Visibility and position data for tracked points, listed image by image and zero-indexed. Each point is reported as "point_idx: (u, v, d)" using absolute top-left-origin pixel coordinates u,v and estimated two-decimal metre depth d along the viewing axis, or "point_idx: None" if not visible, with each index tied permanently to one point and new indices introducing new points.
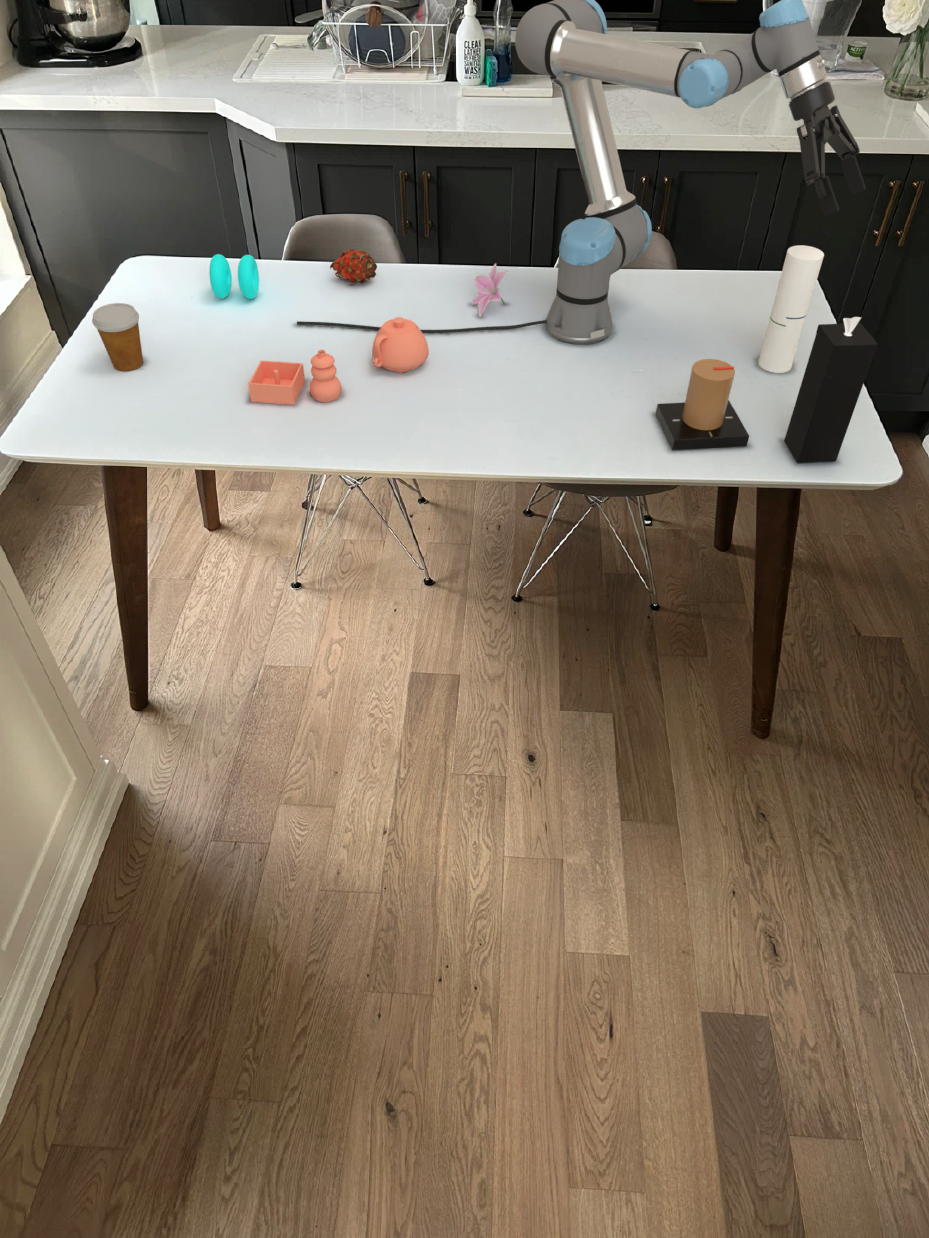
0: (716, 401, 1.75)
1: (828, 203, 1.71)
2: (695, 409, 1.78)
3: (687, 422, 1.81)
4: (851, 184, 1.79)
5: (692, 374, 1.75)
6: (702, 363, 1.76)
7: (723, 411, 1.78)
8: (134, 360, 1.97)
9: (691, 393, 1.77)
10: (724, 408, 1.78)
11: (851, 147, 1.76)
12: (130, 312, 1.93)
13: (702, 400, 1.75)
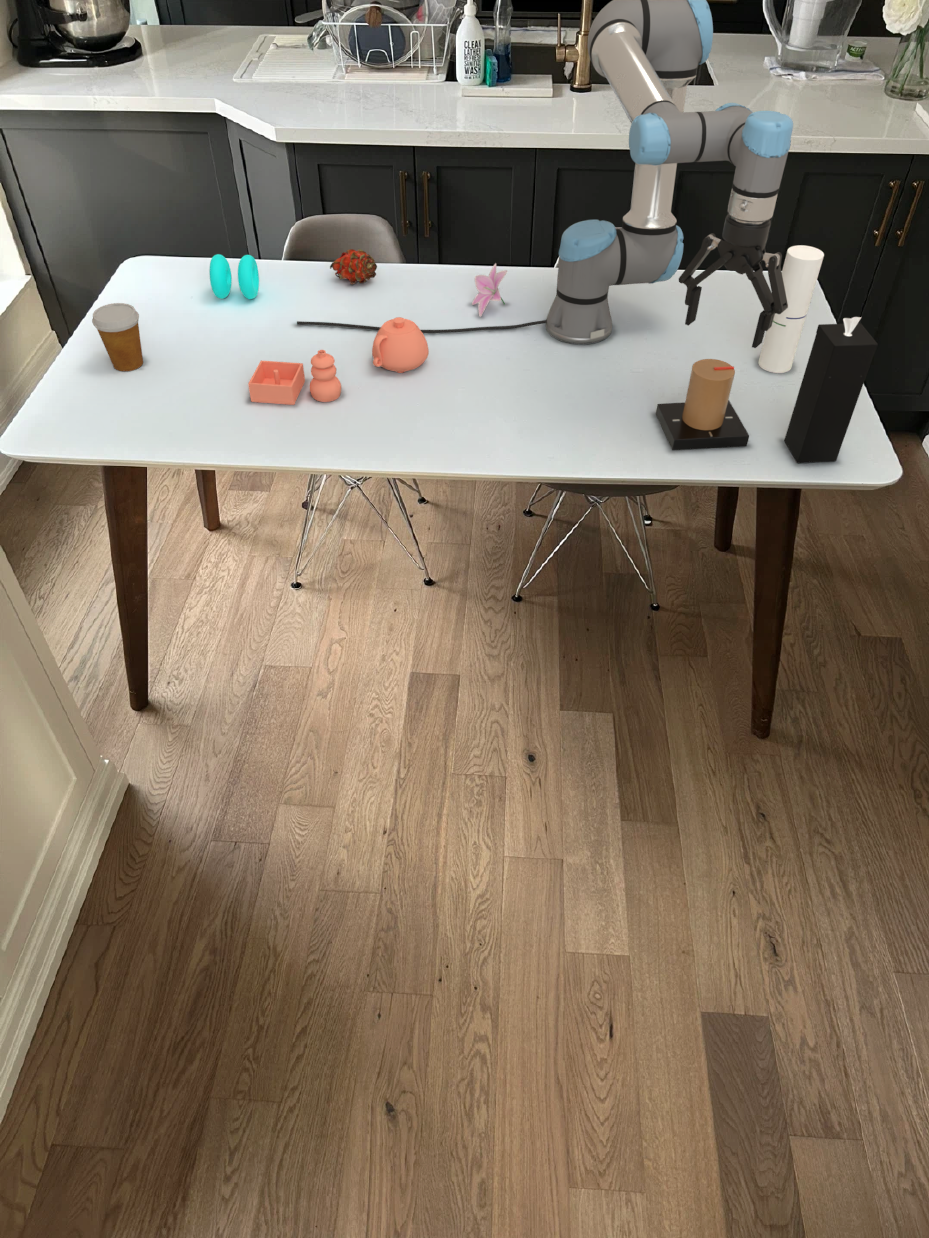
0: (716, 401, 1.75)
1: None
2: (695, 409, 1.78)
3: (687, 422, 1.81)
4: None
5: (692, 374, 1.75)
6: (702, 363, 1.76)
7: (723, 411, 1.78)
8: (134, 360, 1.97)
9: (691, 393, 1.77)
10: (724, 408, 1.78)
11: (766, 304, 1.60)
12: (130, 312, 1.93)
13: (702, 400, 1.75)
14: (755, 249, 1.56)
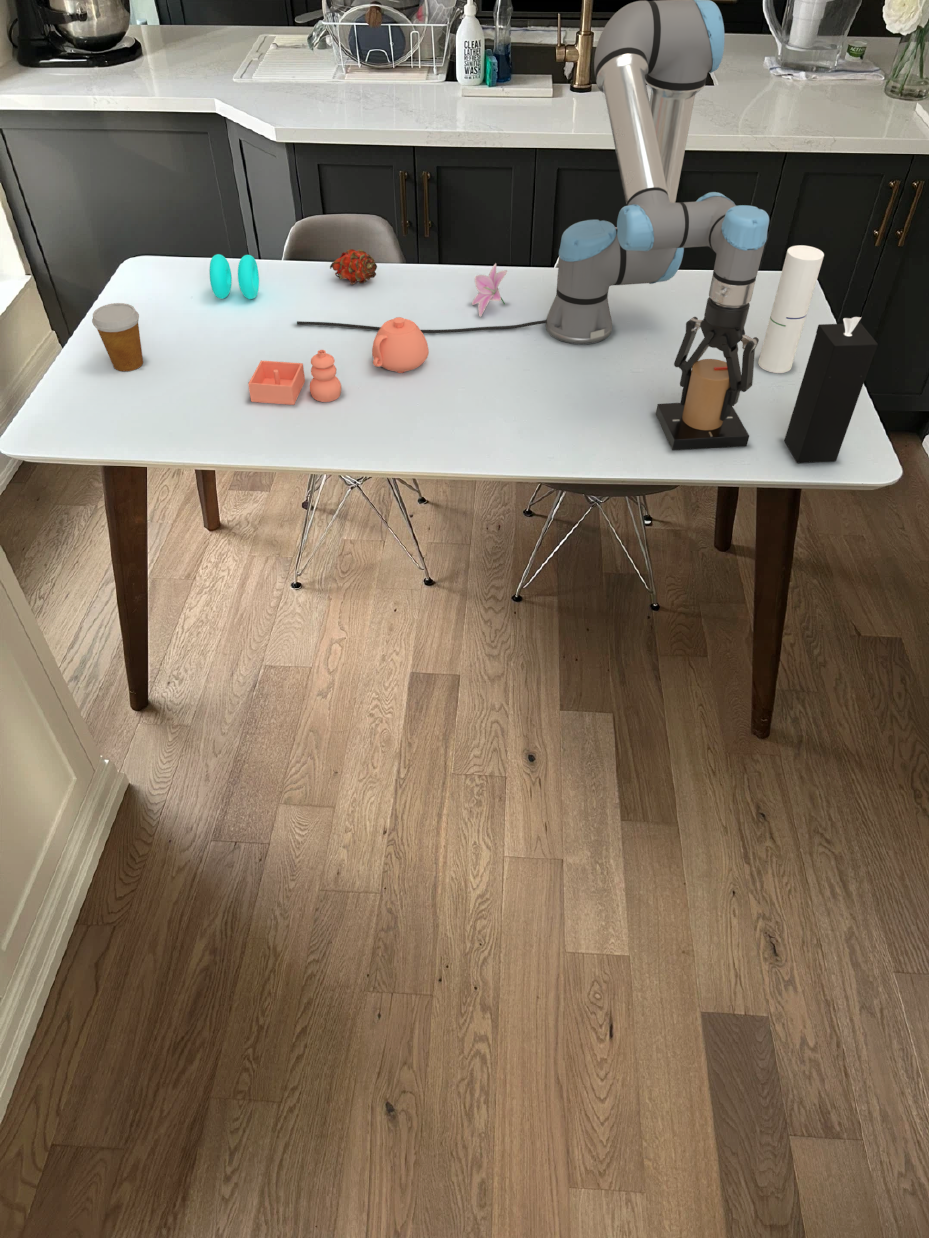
0: (716, 401, 1.75)
1: None
2: (695, 409, 1.78)
3: (687, 422, 1.81)
4: None
5: (692, 374, 1.75)
6: (702, 363, 1.76)
7: None
8: (134, 360, 1.97)
9: (691, 393, 1.77)
10: None
11: (733, 383, 1.72)
12: (130, 312, 1.93)
13: (702, 400, 1.75)
14: (735, 329, 1.66)
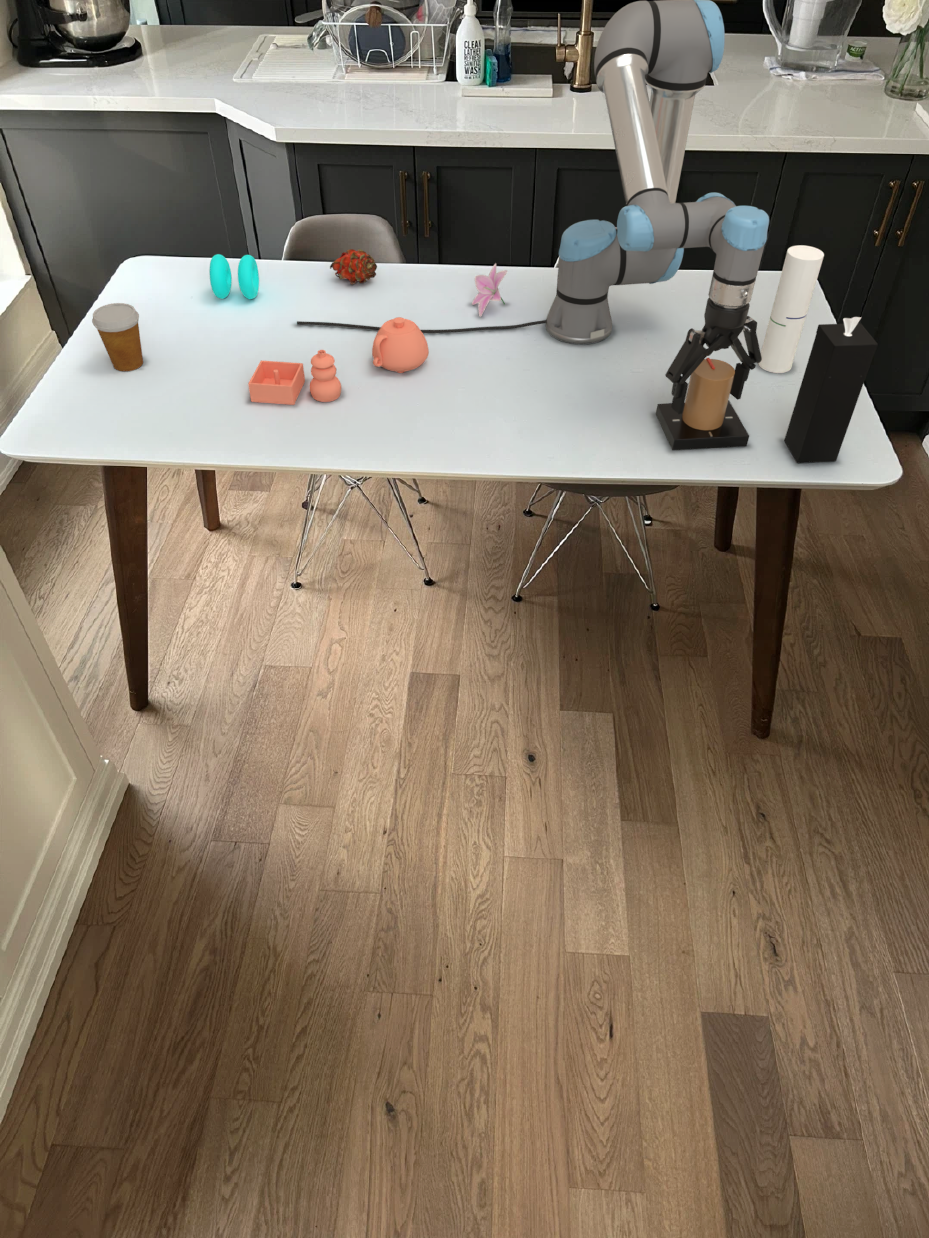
0: None
1: (677, 402, 1.76)
2: (724, 409, 1.78)
3: (716, 426, 1.80)
4: (733, 386, 1.81)
5: (719, 384, 1.72)
6: (703, 374, 1.73)
7: None
8: (134, 360, 1.97)
9: (720, 399, 1.75)
10: None
11: (749, 361, 1.75)
12: (130, 312, 1.93)
13: (728, 396, 1.77)
14: None
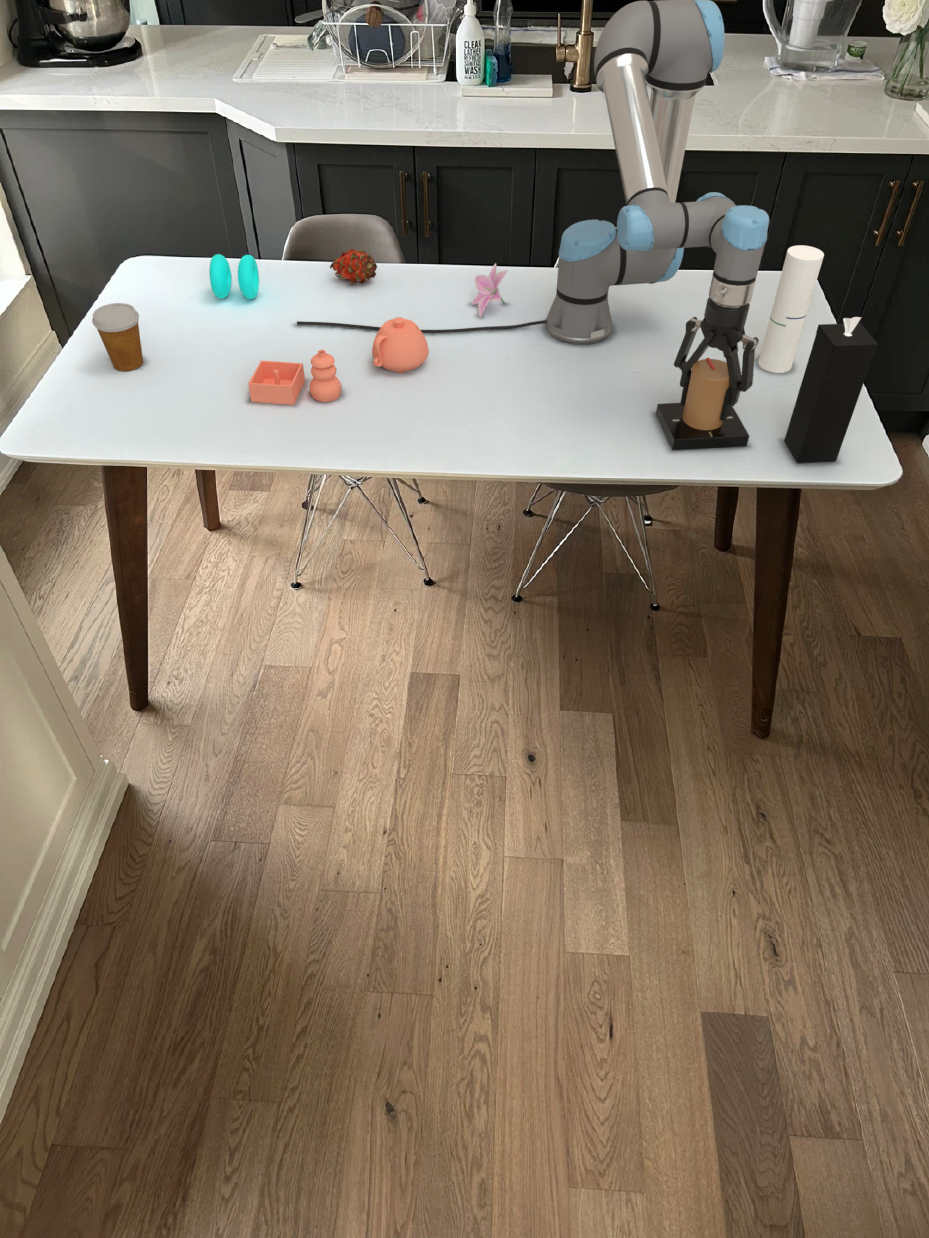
0: None
1: None
2: None
3: (716, 426, 1.80)
4: None
5: (719, 384, 1.72)
6: (703, 374, 1.73)
7: None
8: (134, 360, 1.97)
9: (720, 399, 1.75)
10: None
11: (733, 383, 1.72)
12: (130, 312, 1.93)
13: None
14: (735, 330, 1.66)
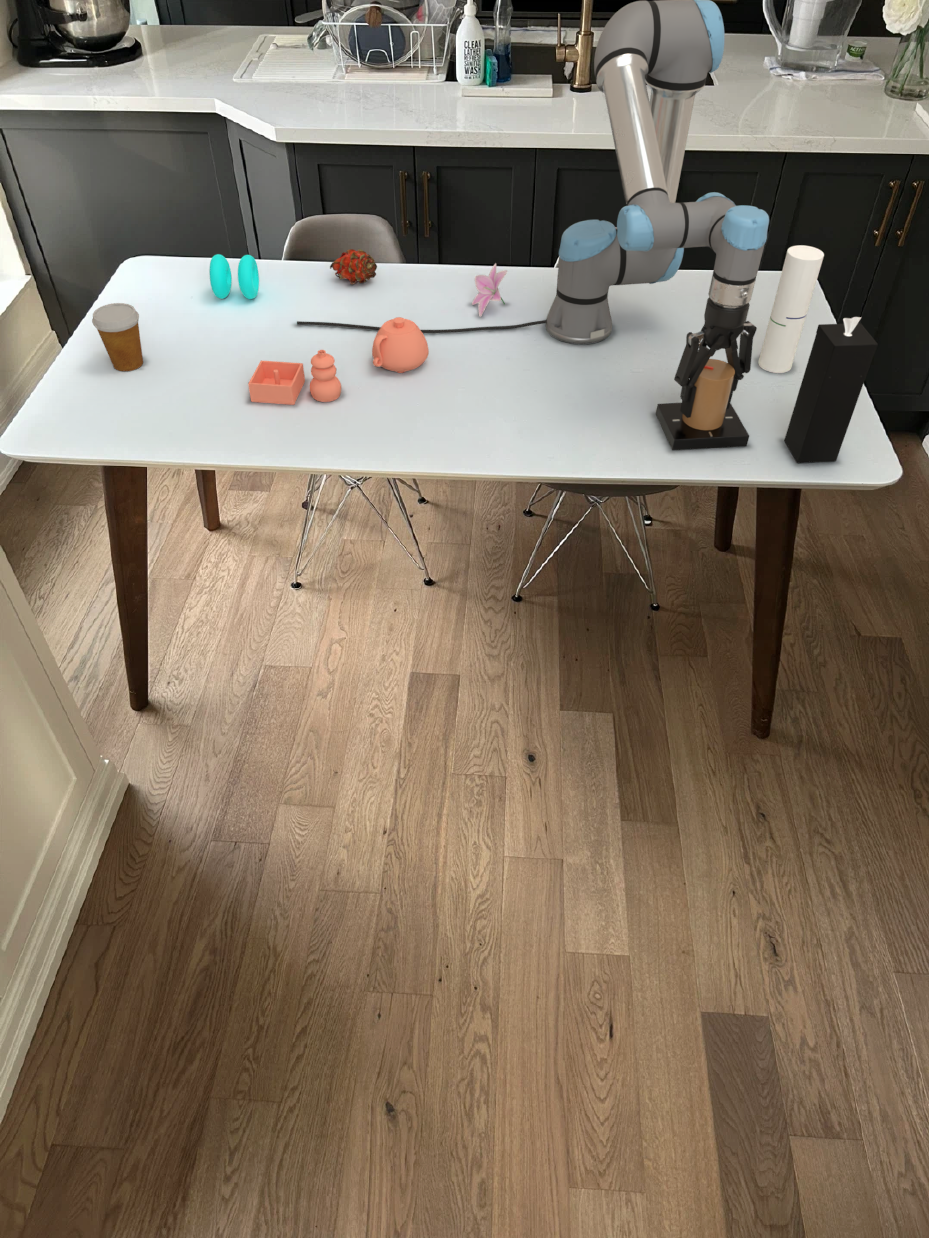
0: None
1: (686, 405, 1.78)
2: None
3: None
4: None
5: (733, 377, 1.74)
6: (718, 376, 1.73)
7: None
8: (134, 360, 1.97)
9: None
10: None
11: (738, 370, 1.76)
12: (130, 312, 1.93)
13: None
14: None
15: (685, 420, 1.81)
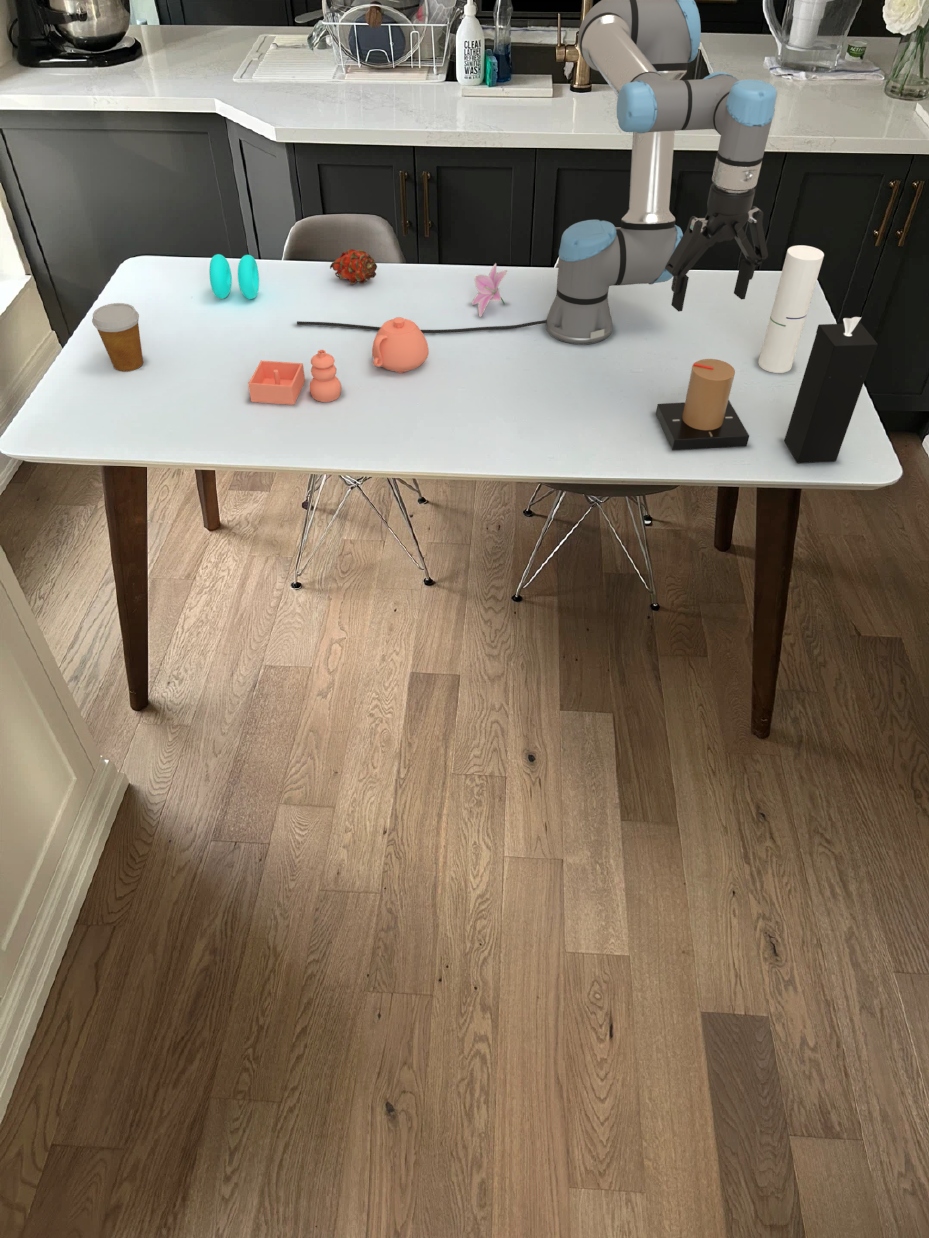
0: None
1: (677, 298, 1.69)
2: None
3: None
4: (738, 285, 1.73)
5: (733, 377, 1.74)
6: (718, 376, 1.73)
7: None
8: (134, 360, 1.97)
9: None
10: None
11: (754, 256, 1.67)
12: (130, 312, 1.93)
13: None
14: None
15: (685, 420, 1.81)
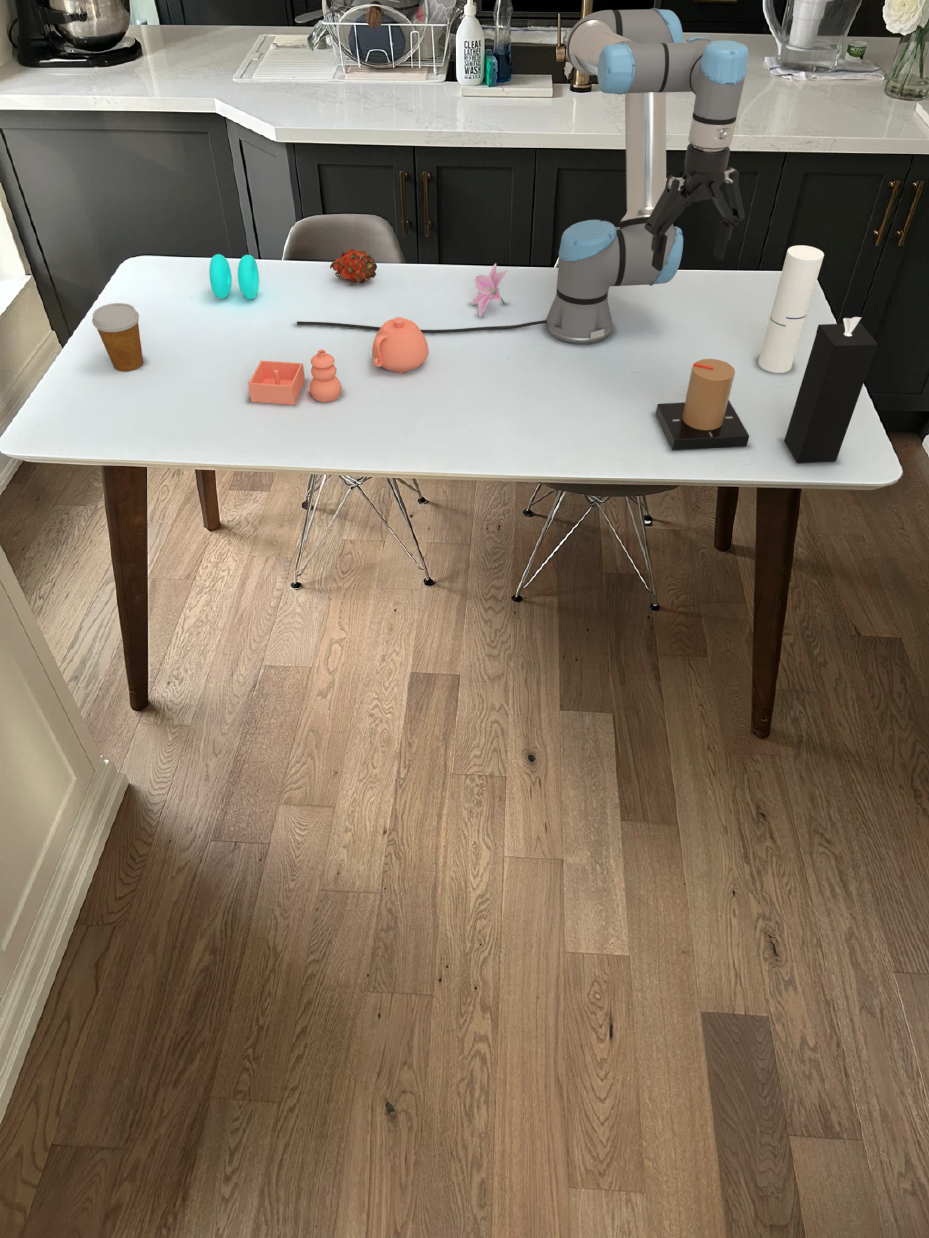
0: None
1: (657, 258, 1.74)
2: None
3: None
4: (716, 247, 1.78)
5: (733, 377, 1.74)
6: (718, 376, 1.73)
7: None
8: (134, 360, 1.97)
9: None
10: None
11: (731, 217, 1.73)
12: (130, 312, 1.93)
13: None
14: None
15: (685, 420, 1.81)
